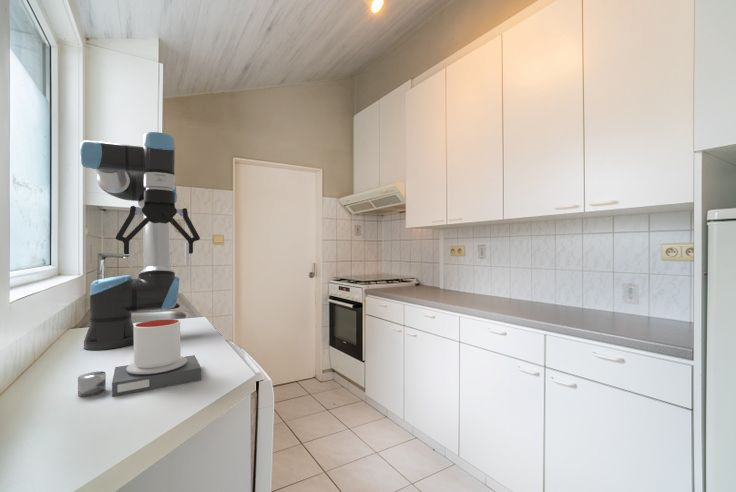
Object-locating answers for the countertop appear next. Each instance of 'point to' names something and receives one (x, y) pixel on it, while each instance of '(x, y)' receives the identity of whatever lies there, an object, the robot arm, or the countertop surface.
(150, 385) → the scale
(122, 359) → the countertop surface
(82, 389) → the cylinder
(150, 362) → the cup
